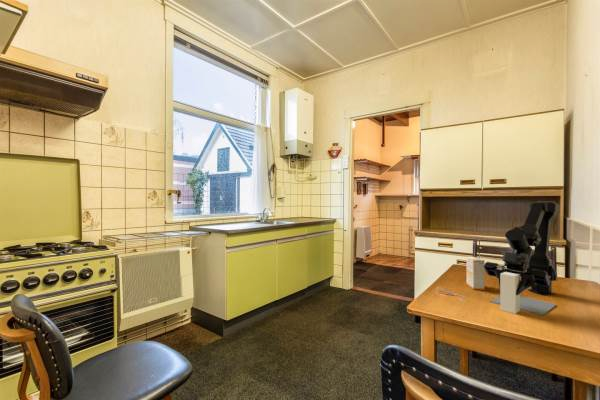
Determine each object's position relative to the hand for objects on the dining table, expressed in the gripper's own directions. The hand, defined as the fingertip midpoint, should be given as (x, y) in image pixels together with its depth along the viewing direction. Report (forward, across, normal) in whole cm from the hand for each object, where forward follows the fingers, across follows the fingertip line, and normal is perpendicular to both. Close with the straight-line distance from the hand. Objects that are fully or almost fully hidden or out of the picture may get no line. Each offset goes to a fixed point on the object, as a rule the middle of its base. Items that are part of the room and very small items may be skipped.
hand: (508, 292), depth 101 cm
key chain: (+5, -20, +5) cm, 21 cm away
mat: (-4, 0, +14) cm, 15 cm away
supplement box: (-10, -20, +19) cm, 29 cm away
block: (+4, 0, +6) cm, 7 cm away
